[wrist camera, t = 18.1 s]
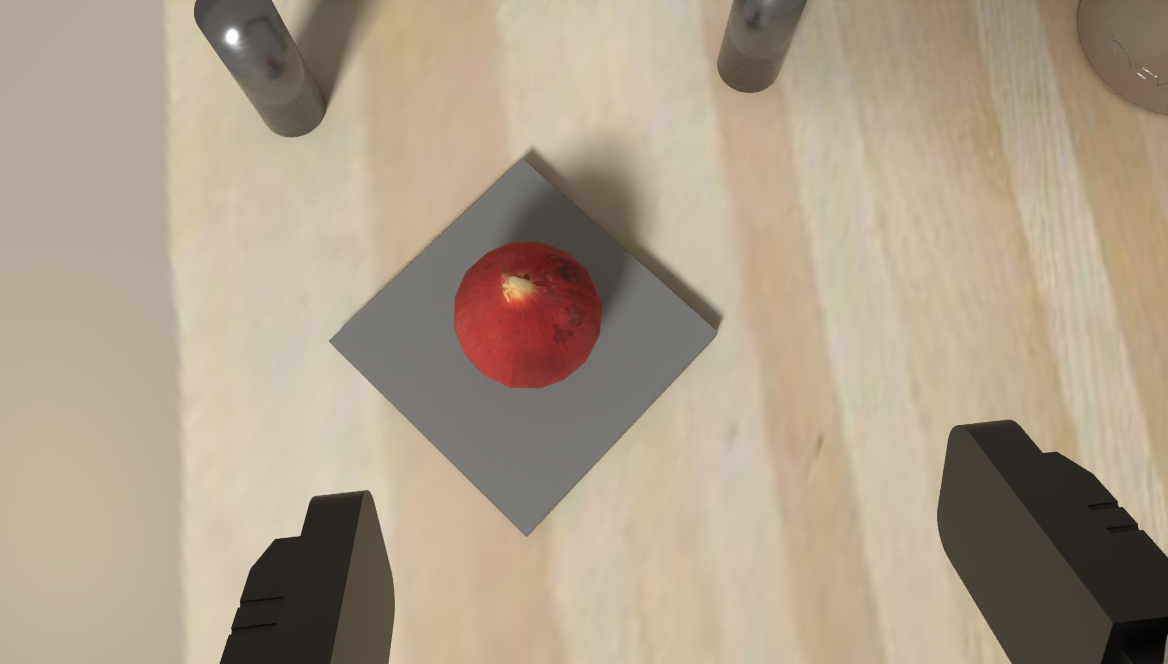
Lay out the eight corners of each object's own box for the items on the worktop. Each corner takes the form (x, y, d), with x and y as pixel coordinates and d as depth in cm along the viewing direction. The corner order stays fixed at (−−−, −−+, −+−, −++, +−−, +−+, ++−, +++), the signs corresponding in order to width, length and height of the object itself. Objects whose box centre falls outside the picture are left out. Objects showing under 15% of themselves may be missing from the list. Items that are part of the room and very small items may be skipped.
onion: (570, 257, 41) (567, 181, 33) (620, 374, 39) (629, 323, 32) (447, 304, 40) (415, 238, 33) (494, 425, 39) (472, 385, 31)
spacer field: (473, -192, 48) (453, -338, 41) (791, 64, 44) (836, -44, 37) (184, 48, 45) (101, -63, 37) (504, 350, 41) (486, 297, 33)
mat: (523, 167, 43) (522, 158, 42) (714, 337, 41) (717, 332, 40) (334, 346, 41) (328, 340, 40) (526, 536, 39) (525, 535, 38)
